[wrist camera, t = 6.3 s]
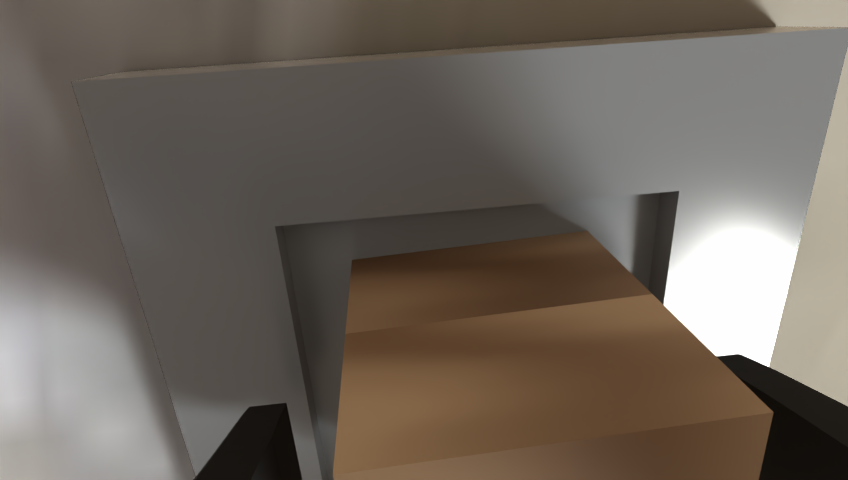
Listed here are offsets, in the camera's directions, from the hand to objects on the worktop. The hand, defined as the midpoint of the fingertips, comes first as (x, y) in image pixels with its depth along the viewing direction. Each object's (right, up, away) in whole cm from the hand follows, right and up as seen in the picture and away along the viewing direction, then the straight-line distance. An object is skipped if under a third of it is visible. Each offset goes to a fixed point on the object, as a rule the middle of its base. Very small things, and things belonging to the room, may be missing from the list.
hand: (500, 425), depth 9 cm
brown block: (0, +1, +2) cm, 2 cm away
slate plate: (0, +1, +3) cm, 3 cm away
